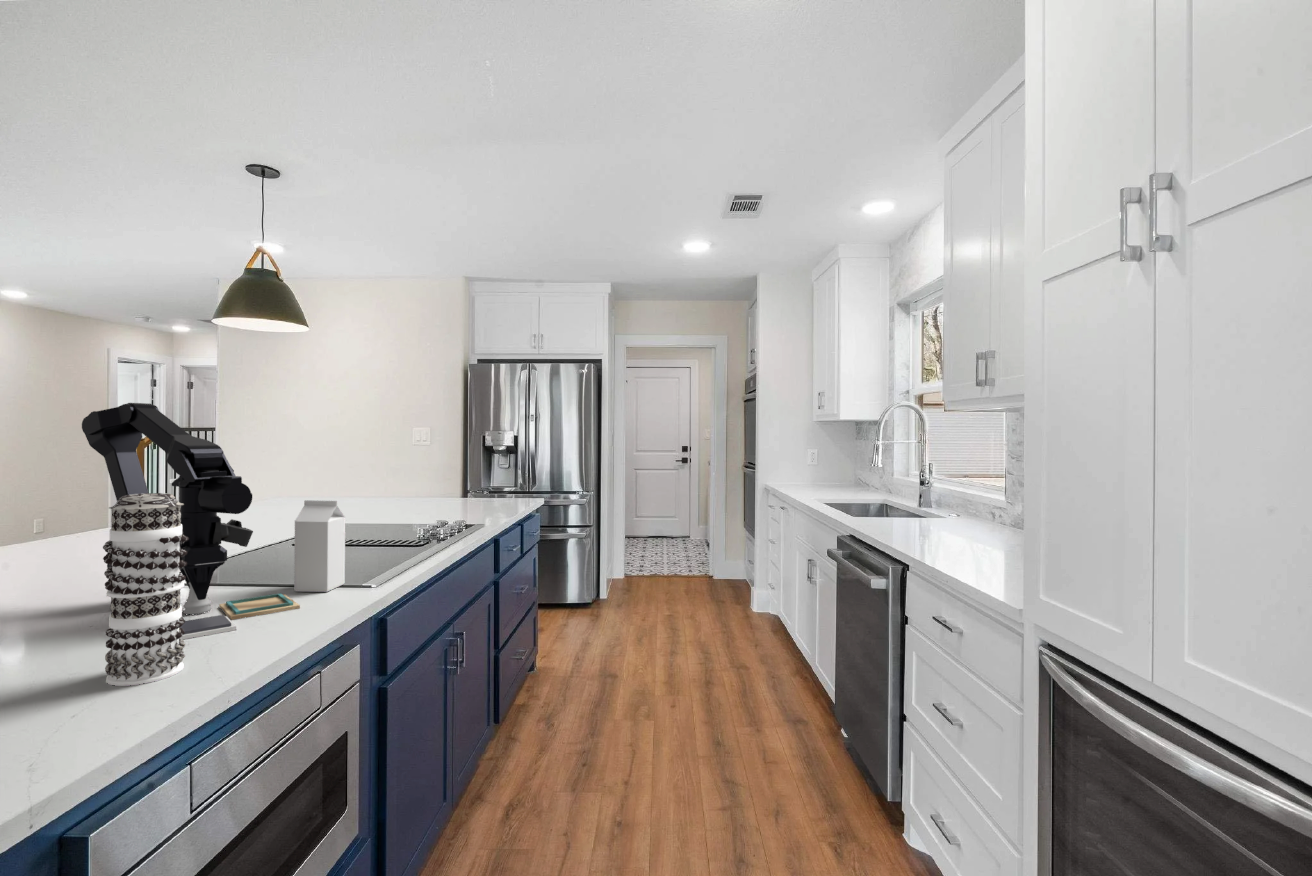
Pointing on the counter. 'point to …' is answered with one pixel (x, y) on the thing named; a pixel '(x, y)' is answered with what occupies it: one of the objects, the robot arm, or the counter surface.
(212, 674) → the counter surface
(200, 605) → the rook chess piece
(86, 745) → the counter surface
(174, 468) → the robot arm
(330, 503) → the milk carton
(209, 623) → the ink pad
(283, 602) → the print board
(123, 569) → the decorative candle
